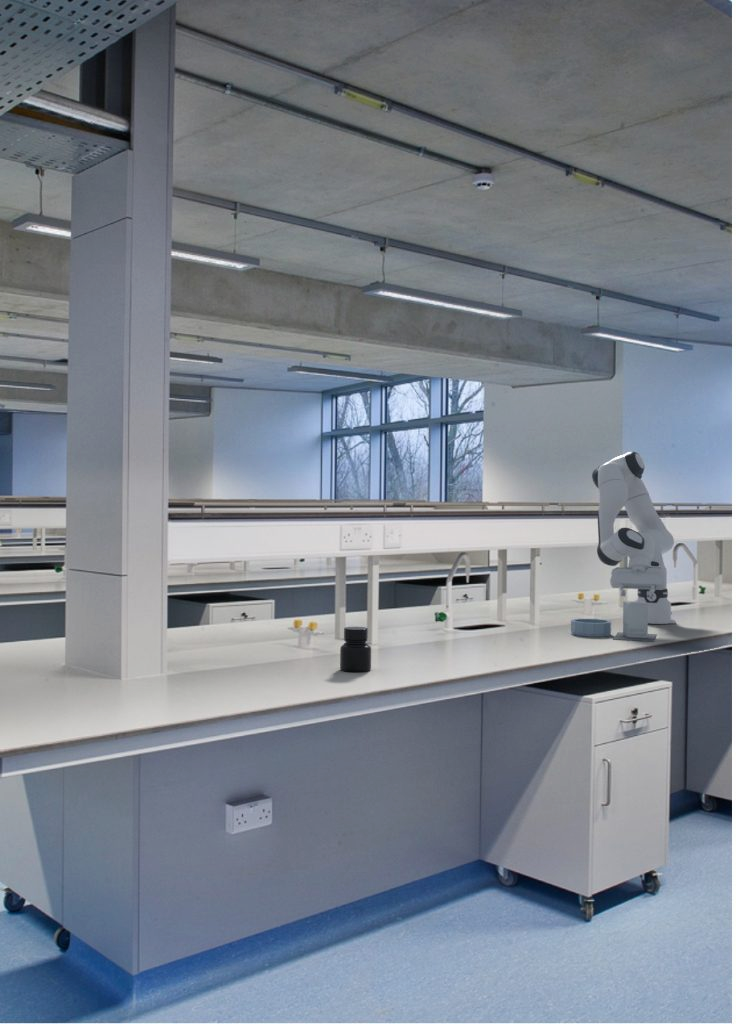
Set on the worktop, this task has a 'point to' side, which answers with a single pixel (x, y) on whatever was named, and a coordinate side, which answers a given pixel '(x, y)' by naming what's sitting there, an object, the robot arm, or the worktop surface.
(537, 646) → the worktop surface
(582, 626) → the bowl
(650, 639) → the mat
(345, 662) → the ink bottle
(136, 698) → the worktop surface
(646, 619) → the supplement box
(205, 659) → the worktop surface
